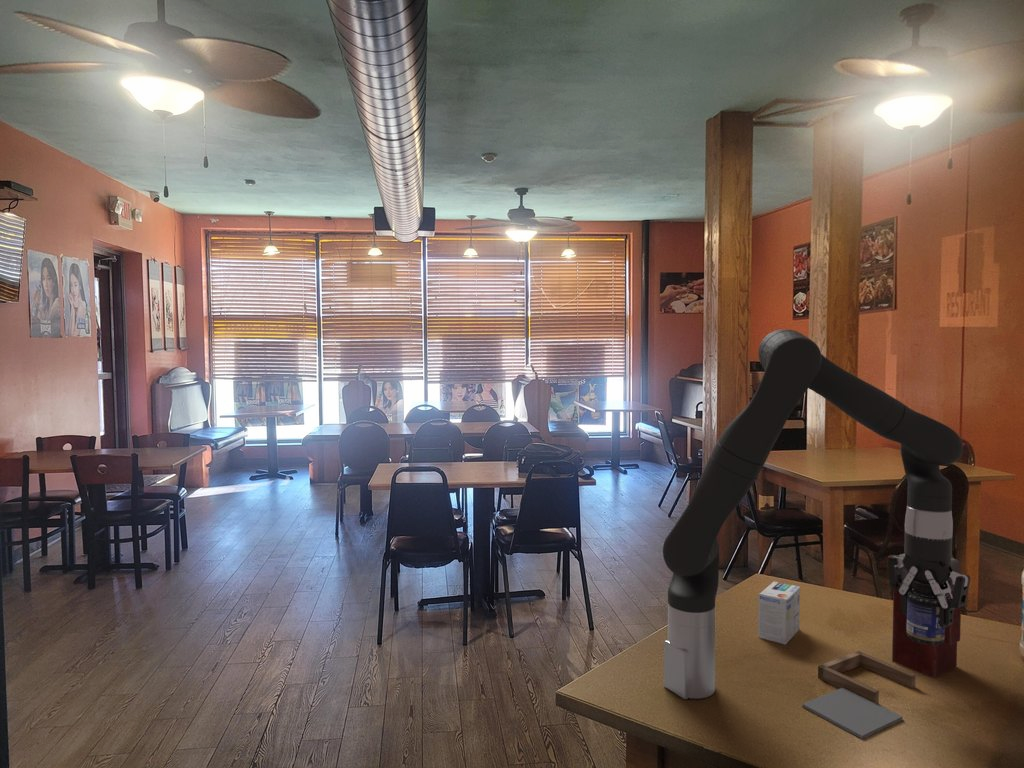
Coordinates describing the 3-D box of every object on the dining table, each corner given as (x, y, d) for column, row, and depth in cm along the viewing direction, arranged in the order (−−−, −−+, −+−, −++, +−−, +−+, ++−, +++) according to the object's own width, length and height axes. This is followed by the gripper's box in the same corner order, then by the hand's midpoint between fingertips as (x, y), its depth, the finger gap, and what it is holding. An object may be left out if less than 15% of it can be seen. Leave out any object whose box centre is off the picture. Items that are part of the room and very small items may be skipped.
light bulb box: (772, 622, 165) (772, 580, 164) (800, 629, 160) (801, 586, 160) (757, 637, 157) (757, 592, 156) (786, 645, 152) (787, 599, 152)
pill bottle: (942, 649, 120) (944, 589, 119) (904, 640, 124) (905, 582, 123) (945, 637, 125) (947, 579, 124) (908, 629, 129) (909, 573, 128)
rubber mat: (861, 739, 116) (861, 735, 116) (802, 706, 126) (802, 703, 126) (902, 719, 122) (902, 716, 122) (842, 690, 132) (842, 687, 132)
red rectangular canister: (946, 682, 135) (950, 547, 133) (891, 660, 144) (893, 533, 143) (969, 671, 139) (972, 539, 138) (913, 650, 149) (916, 527, 147)
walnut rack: (874, 705, 127) (874, 692, 127) (817, 677, 137) (818, 665, 137) (915, 686, 133) (915, 674, 133) (858, 662, 144) (858, 650, 144)
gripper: (981, 538, 119) (978, 629, 120) (901, 520, 131) (899, 603, 132) (958, 544, 115) (955, 639, 116) (878, 525, 128) (876, 610, 129)
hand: (925, 619), depth 124 cm, fingers closed on pill bottle, 6 cm apart
